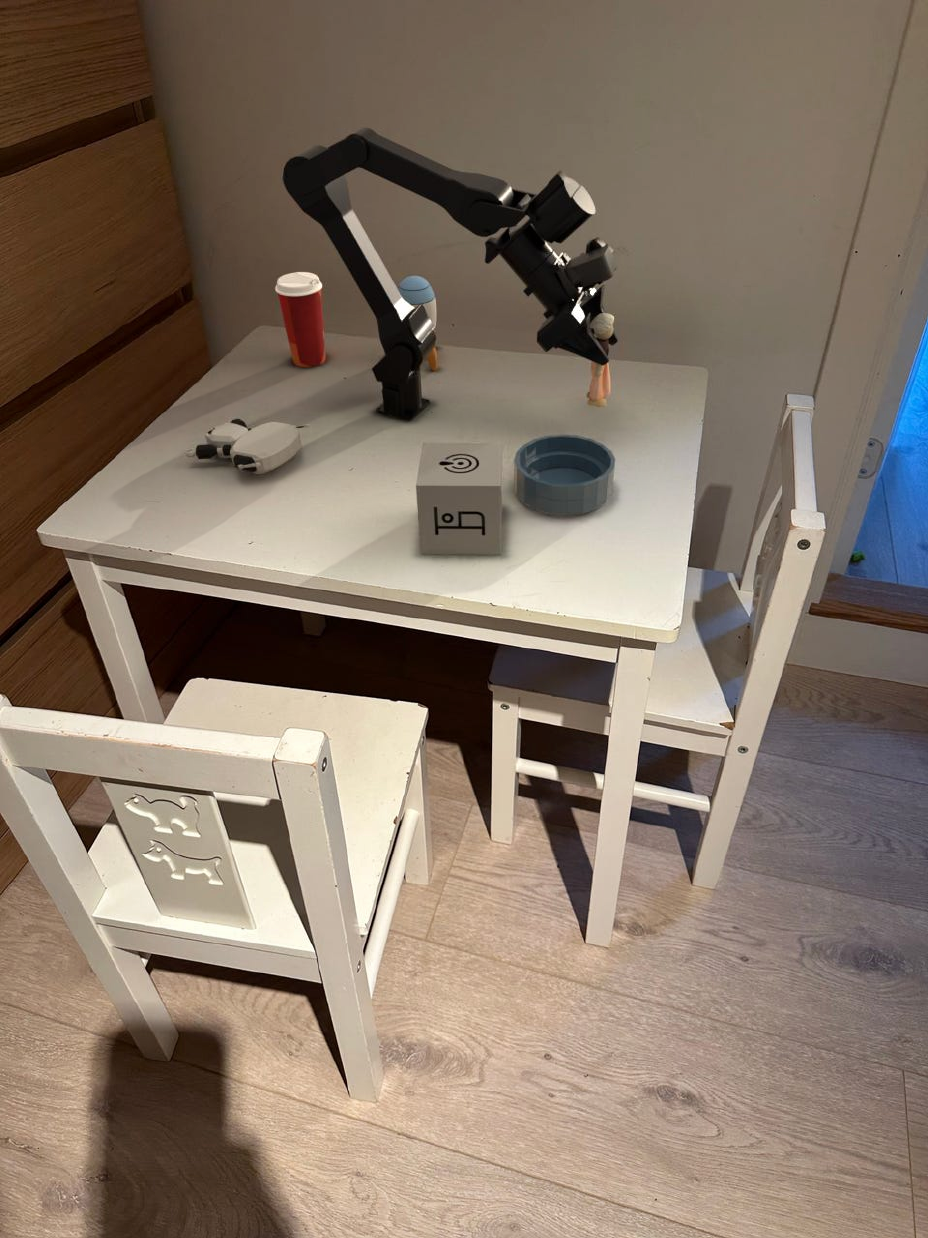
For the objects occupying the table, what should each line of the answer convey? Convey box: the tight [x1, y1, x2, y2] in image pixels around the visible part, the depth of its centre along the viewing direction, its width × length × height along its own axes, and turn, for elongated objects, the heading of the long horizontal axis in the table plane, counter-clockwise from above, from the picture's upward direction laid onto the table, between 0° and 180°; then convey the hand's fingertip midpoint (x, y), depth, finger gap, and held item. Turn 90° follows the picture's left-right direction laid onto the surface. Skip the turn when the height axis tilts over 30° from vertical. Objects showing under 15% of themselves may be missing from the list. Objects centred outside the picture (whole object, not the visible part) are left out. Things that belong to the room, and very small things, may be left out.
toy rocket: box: [383, 275, 438, 372], centre depth 149 cm, size 10×11×15 cm
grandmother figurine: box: [585, 312, 615, 408], centre depth 125 cm, size 8×4×13 cm, turn 6°
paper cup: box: [274, 271, 326, 368], centre depth 150 cm, size 8×8×14 cm
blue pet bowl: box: [513, 434, 616, 516], centre depth 119 cm, size 13×13×5 cm
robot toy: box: [185, 418, 311, 475], centre depth 128 cm, size 12×4×15 cm
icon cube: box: [415, 442, 503, 556], centre depth 111 cm, size 10×10×10 cm
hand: (611, 353), depth 124 cm, fingers closed on grandmother figurine, 6 cm apart
